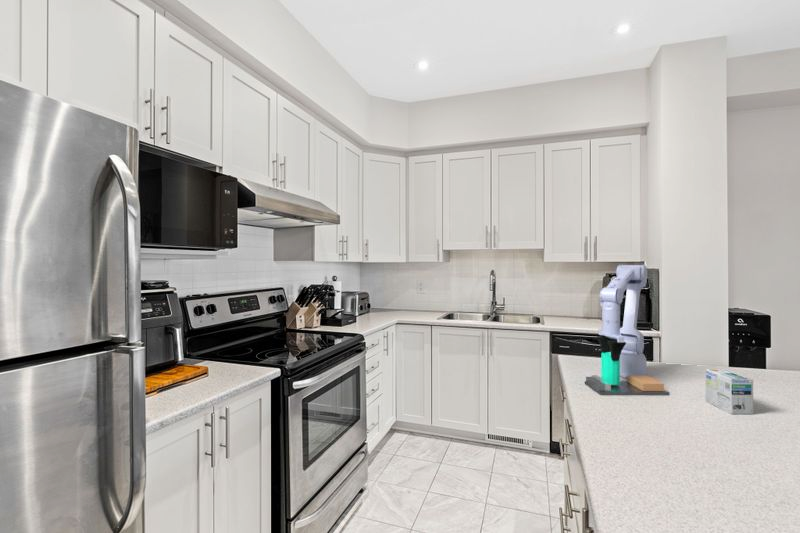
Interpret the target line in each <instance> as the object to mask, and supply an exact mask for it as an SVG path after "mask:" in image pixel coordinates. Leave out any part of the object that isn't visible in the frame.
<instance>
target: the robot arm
mask: <svg viewBox="0 0 800 533" xmlns="http://www.w3.org/2000/svg"><path fill="white" fill-rule="evenodd" d="M615 274H616V277H613V279H611V281H610V282H609V283H608V284H607V286H606V287H603V288H600V291H599V301H600V302H599V303H600V308H601V310H602V311H601V329H600V328H599V329H598V336H596V340H597V341H598V343H599V346H600V349H601V353H602V352H603V353H607V352H610V351H611V359H612V361H619V358H620V377H622V378H626V379H627V375H647V365H648V364H647V358H646V356H645V354H644V353H643V352H644V349H645V341H644V339H645V338H644V334H643V333H642V332H641V331H640V330H639V329H637V324H638V316H639V305H640V296H641V291H642V289H643V288H645V287H646V286H647V280H648V268H647V266H646V265H645V264H619V265H618V266H617V267H616V272H615ZM625 291H626V293H625ZM624 293H625V294H626V295H624ZM624 296H625V301H624V313H623V321H622V327H621V304H622V303H623V298H624Z"/></svg>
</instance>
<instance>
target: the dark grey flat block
mask: <svg viewBox="0 0 800 533" xmlns="http://www.w3.org/2000/svg"><path fill="white" fill-rule="evenodd" d="M584 385H585V386H587V387H588V388H590V389H591V390H592V391H594V392H596V393H597V394H598V395H599V396H670V392H669V391H667V390H666V389H664V391H642V390H641V389H639V388H637V387H635V386H634V385H632V384H630V383H628V382H627V380H626V381H625V380H624V381H623V380H622V381H621V380H620V384H619V385H611V384H610V383H608V382H607V381H605V380H604V379H602V378H601V376H598V375H591V376H585V381H584Z"/></svg>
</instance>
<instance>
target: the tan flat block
mask: <svg viewBox="0 0 800 533" xmlns="http://www.w3.org/2000/svg"><path fill="white" fill-rule="evenodd" d="M626 381H627V382H628V383H630V384H632V385H634V386H635V387H637V388H639V389H641V390H642V391H664V390H665V383H663V382H661V381H659V380H658V379H656V378H653V377H652V376H649V375H647V374H646V375H627V378H626Z"/></svg>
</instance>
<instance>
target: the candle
mask: <svg viewBox="0 0 800 533" xmlns="http://www.w3.org/2000/svg"><path fill="white" fill-rule="evenodd" d="M600 354H601V358H600V360H601V362H600V366H601V368H600V370H601V374H600V375H601V376H600V378H602V379H604V380H605V381H607V382H608V383H610V384H611V385H619V384H620V381H621V380H620V379H621V376H620V358H619V361H612V359H611V351H610V352H607V353H603V352H602V351H601V353H600Z"/></svg>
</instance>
